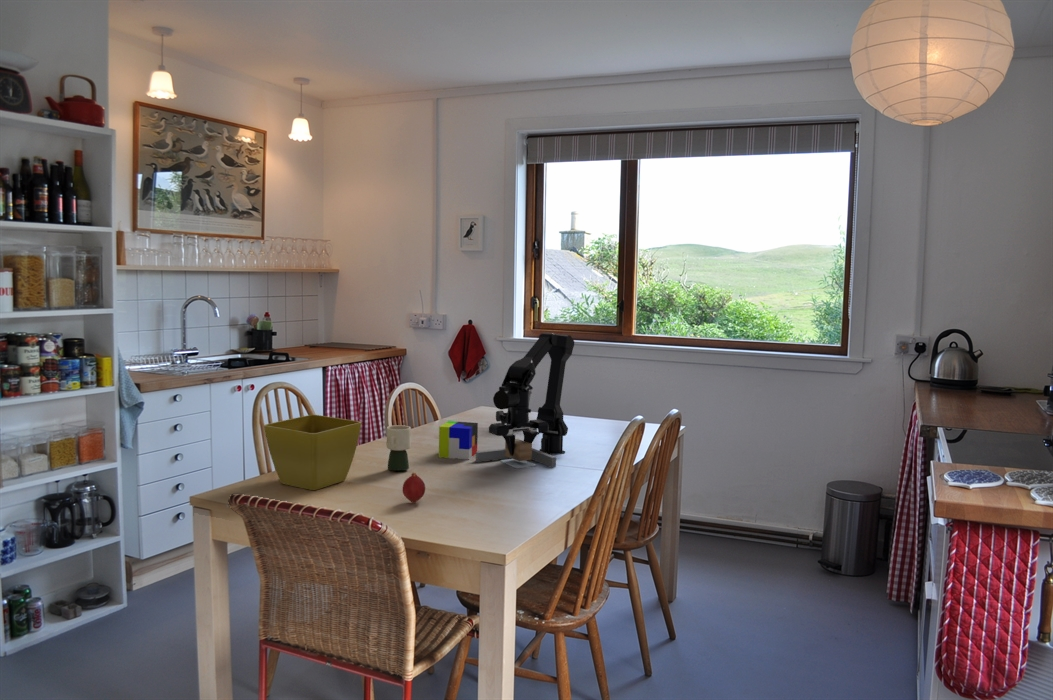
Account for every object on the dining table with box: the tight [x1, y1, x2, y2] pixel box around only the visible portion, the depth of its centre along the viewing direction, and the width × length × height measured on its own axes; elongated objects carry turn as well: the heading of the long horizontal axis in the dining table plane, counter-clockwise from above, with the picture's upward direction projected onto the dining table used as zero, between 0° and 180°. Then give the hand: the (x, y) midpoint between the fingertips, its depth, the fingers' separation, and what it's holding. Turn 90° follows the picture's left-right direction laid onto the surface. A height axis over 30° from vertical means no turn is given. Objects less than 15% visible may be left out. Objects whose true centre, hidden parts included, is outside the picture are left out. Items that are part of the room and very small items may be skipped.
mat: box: [499, 458, 537, 469], centre depth 244 cm, size 7×10×1 cm
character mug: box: [385, 424, 412, 473], centre depth 232 cm, size 11×7×13 cm, turn 168°
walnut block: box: [504, 438, 533, 461], centre depth 244 cm, size 8×4×5 cm, turn 36°
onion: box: [402, 472, 426, 504], centre depth 200 cm, size 6×6×8 cm
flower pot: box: [263, 414, 362, 491], centre depth 216 cm, size 19×19×17 cm
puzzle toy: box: [438, 420, 479, 460], centre depth 253 cm, size 10×10×10 cm
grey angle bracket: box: [475, 447, 557, 468], centre depth 244 cm, size 19×17×3 cm
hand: (518, 454), depth 244 cm, fingers closed on walnut block, 5 cm apart
